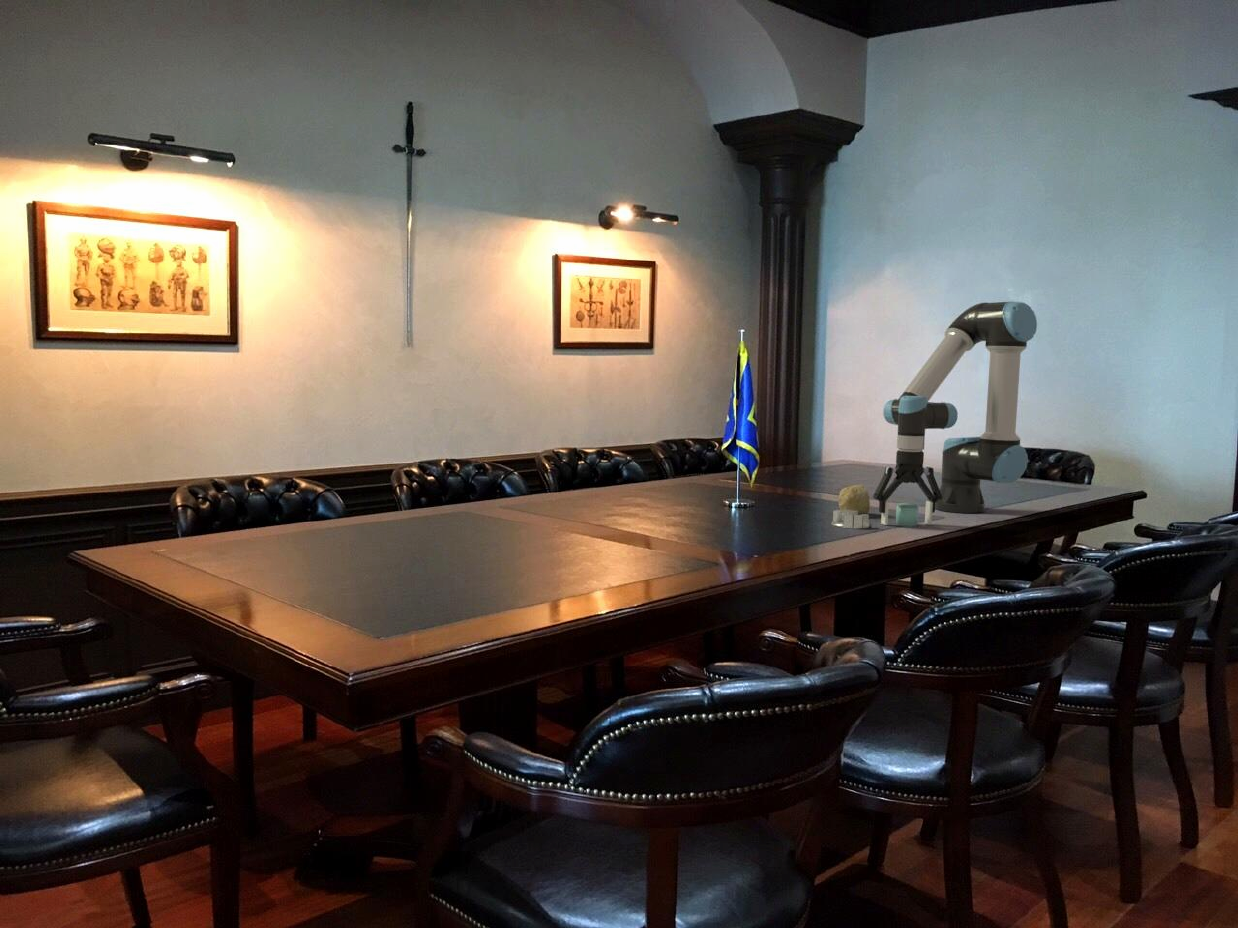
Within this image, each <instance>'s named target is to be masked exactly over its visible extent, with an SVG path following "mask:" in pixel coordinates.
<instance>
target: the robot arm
mask: <svg viewBox="0 0 1238 928" xmlns="http://www.w3.org/2000/svg"><path fill="white" fill-rule="evenodd" d="M1037 320H1038V319H1037V317H1036V313H1035V311H1034V310H1033V309H1032V307H1031V306H1030V305H1029V304H1027V303H1025V302H1022V301H997V302H980V303H977V304H974V305H972V306H970V307H969V308H967V309H965V310H964V311H963V312H962V313H960V315H958V317H956V318H955V319H954V320H953V321H952V322H951V324H950V325H949V326H948V328H946V330H945V331H944V338H943V339H942V340H941V341H940V343H939V344H938V346H937V347H936V349H935V350H934V351H933V352H932V354H931V356H929V358H928V359H927V360H926V362H925V363H924V364H923V366H922V367H921V369H920V370H919V371H918V372H917V374H916V375H915V377H914V378H913V379H912V381H910V382H909V384H908V385H907V387H906V388H905V390H904V391H903V392H902V394H900V396H899V398H895V399H890V400H888V401H887V402H885V404H884V407H883V409H882V410H883V413H882V415H883V419H885V421H886V422H887V423H889V424H891V425H893V426H894V425H895V426H897V439H896V440H897V441H896V448H897V449H898V450H897V451H896V453H895V454H896V457H895V458H896V459H895V467H889V466H885V468H884V473H883V476H882V478H881V480H880V482H879V484H878V486H877V487H876V488H875V489H876V490H875V491H874V494H873V495H872V497H873V499H875V500H877V501H878V502H879V506H878V507H879V508H878V511H879V513H880V514H881V519H880V524H882V525H884V526H888V524H889V523H888V522H889V505H890V503H889V502H888V501H887V500H888V499H890V497H891V496H892V495H893V493H895V491H896V490H897V489H898V487H899V486H900V485H902V484H903V483H904V484H908V483H912V484H917V485H918V487H919V488H920V490H921V491H922V492H923V494H924V495H925V497H926V498H927V499H928V500H925V510H924V511H925V513H924V514H925V515H924V524H926V525H932V524H933V523H932V522H933V521H932V520H933V513H936V510H937V511H942V512H948V513H961V514H976V513H977V514H978V513H980V514H981V513H983V512H985V507H986V505H985V504H986V503H985V499H984V497H983V493H982V490H981V481H988V482H994V483H998V484H1000V483H1001V484H1003V483H1004V484H1012V483H1015V482H1017V481H1018V480H1020V478H1021V477H1022V476H1023V475H1024V473H1025V471H1026V469H1027V467H1028V460H1029V458H1028V453H1027V450H1026V448H1025V447H1023V446H1022V445H1021V438H1020V436H1019V435H1018V434H1017V433H1016V428H1017V414H1018V413H1017V412H1018V402H1019V401H1018V398H1019V385H1020V384H1019V383H1020V382H1019V381H1020V371H1021V370H1020V367H1021V354H1022V353H1023V351H1025V350H1026V349H1027V348H1028V347H1027V344H1028V342H1030V340H1032V339H1033V338H1034V335H1035V334H1036V333H1037V327H1038V321H1037ZM982 342H985V349H987V350H988V352H989V367H988V369H989V370H988V381H987V382H988V384H987V397H986V399H987V400H986V401H987V402H986V417H985V431H984V433H982V434H981V435H980V436H969V437H968V436H967V437H950V438H947V439H945V440H944V443H943V448H942V458H941V459H942V461H941V463H942V464H941V485H940V487H939V485H938V482H937V481H936V478H935V474H934V473H935V471H934V468H933V467H931V466H926V467H924V458H925V457H924V455H925V453H924V451H923V450H924V449H925V437H926V436H925V435H926V430H933V429H934V430H937V429H940V430H945V429H950V428H952V427H954V426H955V425H956V423H957V421H958V415H959V414H958V409H957V408H956V406H955V405H953V403H951V402H943V401H941V402H934V401H933V402H932V401H930V399H932V397H933V395H934V394H935V393H936V391H937V390H938V389H939V388H940V386H941V385H942V384H943V382H944V381H945V380H946V378H947V377H948V376H949V374H950V373H951V372H952V371H953V369H954V368H955V367H956V365H957V364H958V362H959V361H960V360H961V358H962V357H963V356H964V354H965V353H966V352H969V351H971V350H972V349H973V348H974V346H975V345H977V344H978V343H982ZM894 474H895V477H894V478H893V479H892V481H891V483H890V484H889V482H890V480H891V478H892V476H893V475H894ZM923 474H924V475H925V477H926V479H927V482H928V484H929V486H928V485H927V484H926V482H925V480H924V479H923V477H922V476H923ZM888 484H889V485H888ZM887 486H888V487H887ZM929 487H930V488H929ZM930 489H931V490H930Z"/></svg>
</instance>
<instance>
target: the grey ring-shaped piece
mask: <svg viewBox="0 0 1238 928" xmlns="http://www.w3.org/2000/svg"><path fill="white" fill-rule="evenodd" d="M832 514H833V515H832V521H831V525H832V526H833V527H836V528H843V529H853V530H854V529H858V530H859V529H867V528H870V523H869V521H870V515H869V514H862V515H858V510H841V509H835V510H833V512H832Z"/></svg>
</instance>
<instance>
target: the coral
mask: <svg viewBox="0 0 1238 928" xmlns="http://www.w3.org/2000/svg"><path fill="white" fill-rule="evenodd" d="M870 504H871V502H870V495H869V492H868V489H866V487H865V486H864V485H863V484H862V483H861V484H854V485H850V486H848V485H847V486H846V487H844V488H842V489H841V490H840V492H839V495H838V506H839V510H858V515H862V514H866V515H868V513H869V511H870Z"/></svg>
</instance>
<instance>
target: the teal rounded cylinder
mask: <svg viewBox="0 0 1238 928" xmlns="http://www.w3.org/2000/svg"><path fill="white" fill-rule="evenodd" d="M895 508H896V511H895V525H896V526H899V527H907V528H908V527H910V528H912V527H914V528H915V527H918V519H919V517H918V515H919V506H918V505H917V504H916V503H911V502H899V503H897V505H896V507H895Z"/></svg>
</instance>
